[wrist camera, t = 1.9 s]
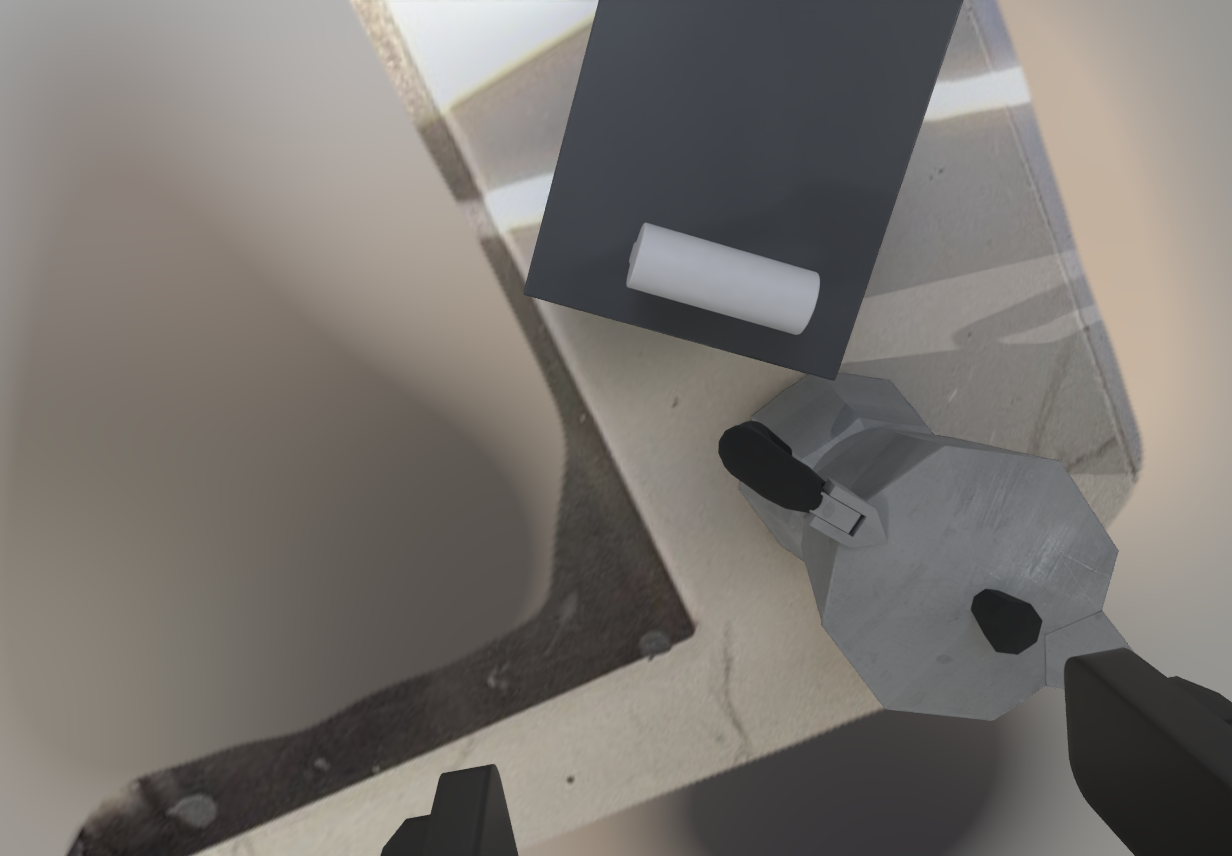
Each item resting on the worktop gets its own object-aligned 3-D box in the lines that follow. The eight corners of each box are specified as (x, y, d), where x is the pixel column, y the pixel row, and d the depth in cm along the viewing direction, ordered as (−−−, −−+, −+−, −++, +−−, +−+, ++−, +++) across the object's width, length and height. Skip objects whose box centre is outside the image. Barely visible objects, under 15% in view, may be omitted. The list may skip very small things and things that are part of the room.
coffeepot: (1000, 446, 42) (1303, 603, 25) (889, 606, 44) (1100, 860, 26) (729, 280, 40) (851, 322, 22) (622, 456, 41) (657, 624, 24)
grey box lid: (828, 377, 30) (885, 411, 25) (524, 293, 29) (512, 308, 23) (956, -3, 28) (1050, -60, 22) (628, -112, 26) (643, -200, 21)
